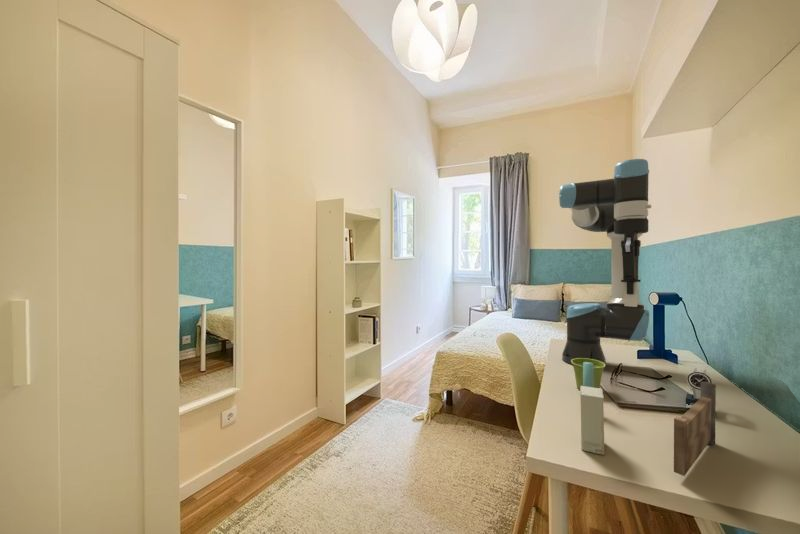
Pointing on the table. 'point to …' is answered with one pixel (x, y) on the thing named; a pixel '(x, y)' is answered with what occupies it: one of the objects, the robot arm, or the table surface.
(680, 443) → the gate
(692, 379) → the watch
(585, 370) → the post
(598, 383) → the plant pot
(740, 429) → the table surface
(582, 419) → the skincare box
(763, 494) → the table surface
